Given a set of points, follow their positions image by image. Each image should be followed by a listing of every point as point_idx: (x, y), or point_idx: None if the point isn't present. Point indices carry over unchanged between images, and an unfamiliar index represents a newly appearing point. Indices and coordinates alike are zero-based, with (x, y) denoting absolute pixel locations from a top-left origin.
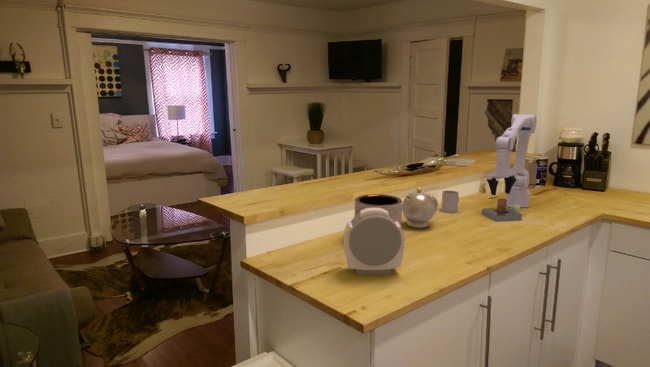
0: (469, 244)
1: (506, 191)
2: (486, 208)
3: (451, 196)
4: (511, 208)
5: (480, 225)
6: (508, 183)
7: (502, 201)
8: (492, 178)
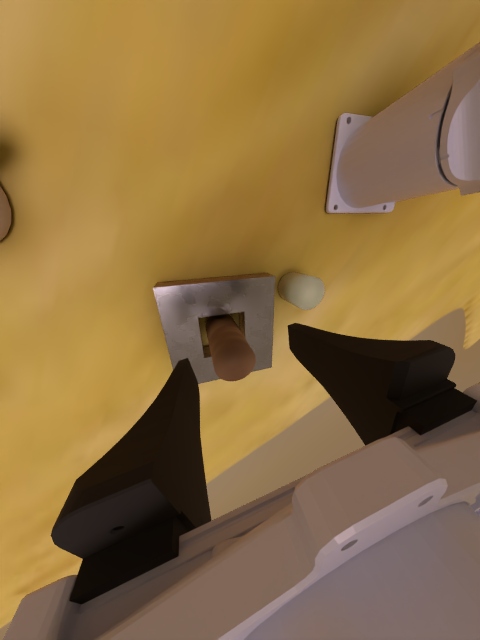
0: (37, 532)
1: (295, 339)
2: (176, 288)
3: None
4: (288, 287)
5: (107, 413)
6: (341, 385)
7: (225, 377)
8: (129, 599)
